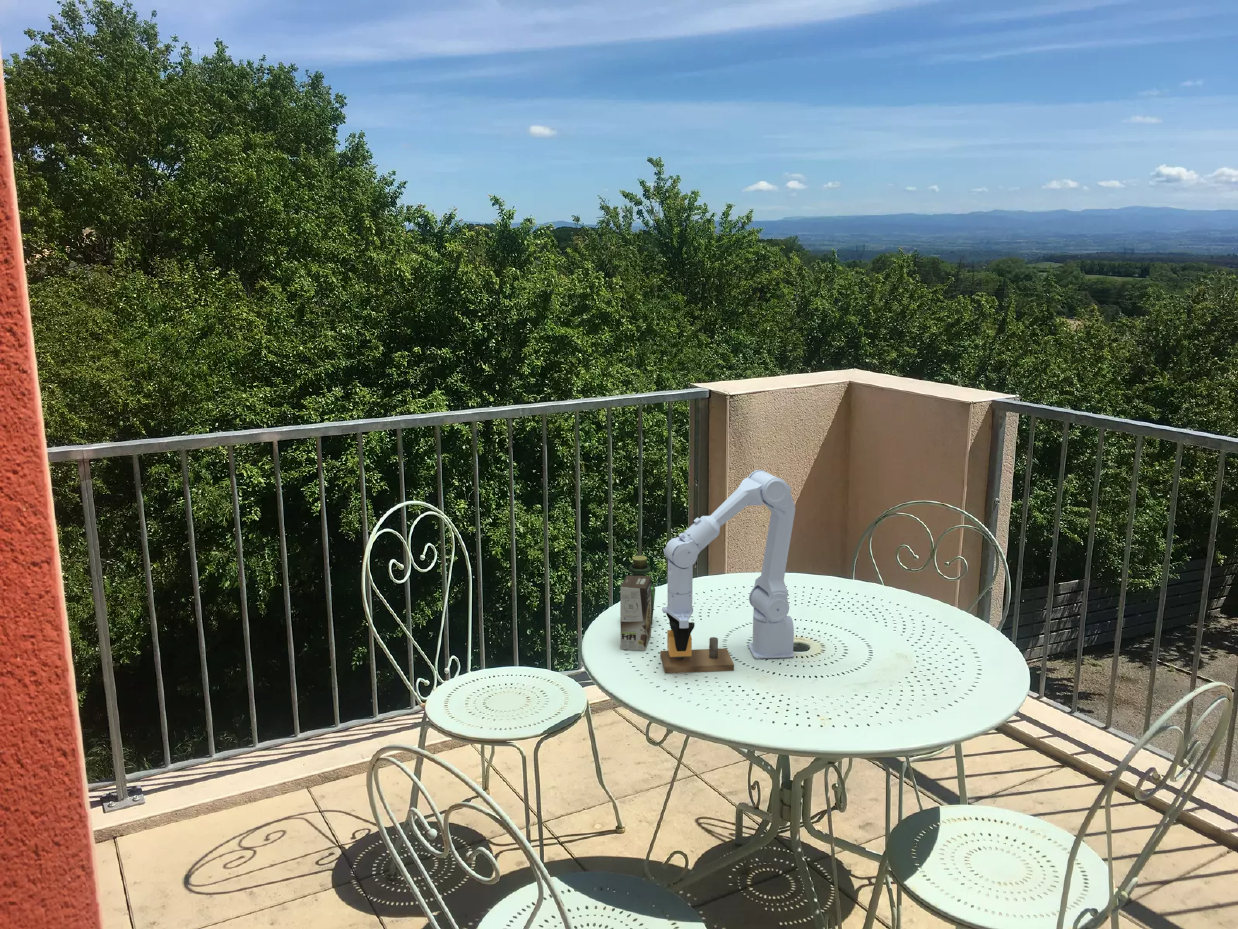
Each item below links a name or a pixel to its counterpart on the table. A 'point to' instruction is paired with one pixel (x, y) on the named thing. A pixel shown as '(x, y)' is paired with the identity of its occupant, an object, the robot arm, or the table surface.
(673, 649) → the wooden toy cube
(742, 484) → the robot arm
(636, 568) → the potion bottle
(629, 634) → the coffee box
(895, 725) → the table surface
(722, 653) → the wooden peg board
